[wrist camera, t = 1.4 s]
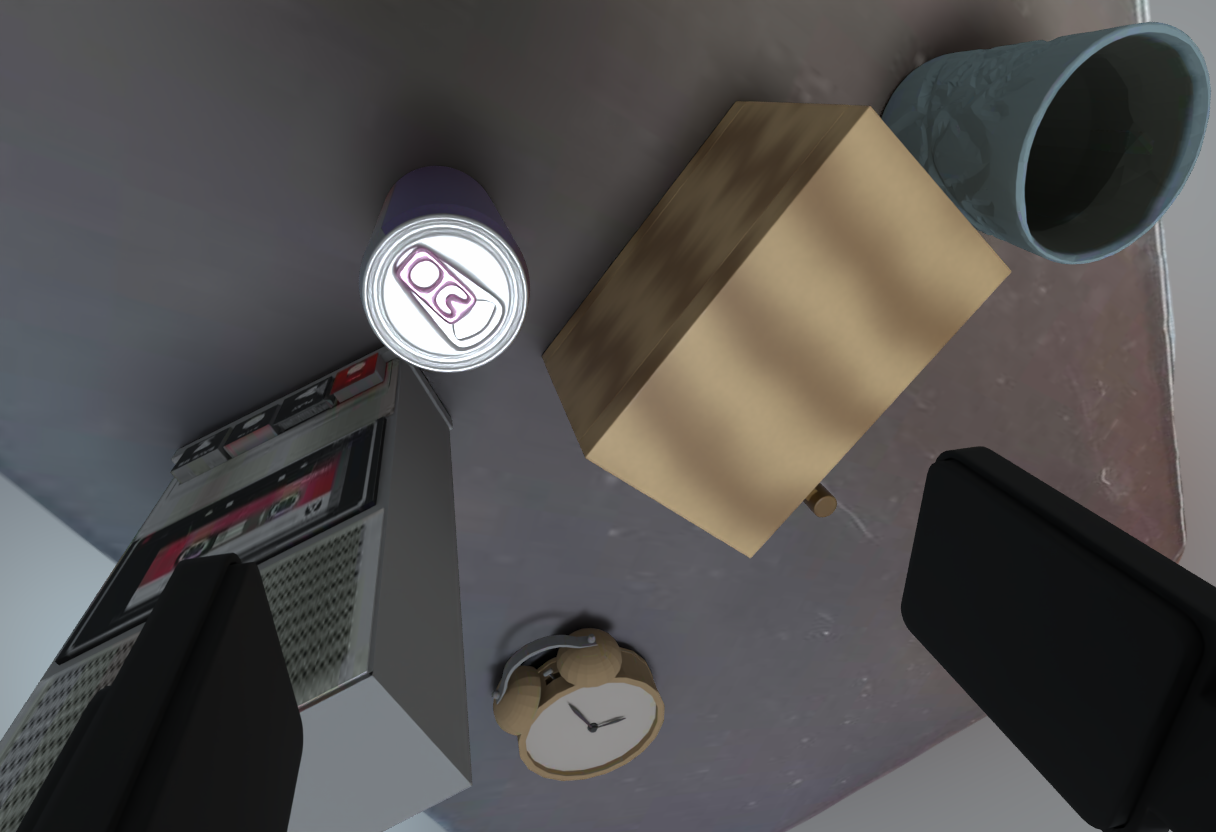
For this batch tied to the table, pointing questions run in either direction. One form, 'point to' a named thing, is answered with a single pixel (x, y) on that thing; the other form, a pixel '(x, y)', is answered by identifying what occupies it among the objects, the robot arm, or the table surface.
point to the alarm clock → (579, 705)
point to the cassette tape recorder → (306, 594)
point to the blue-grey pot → (1060, 135)
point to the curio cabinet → (767, 315)
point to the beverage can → (443, 274)
